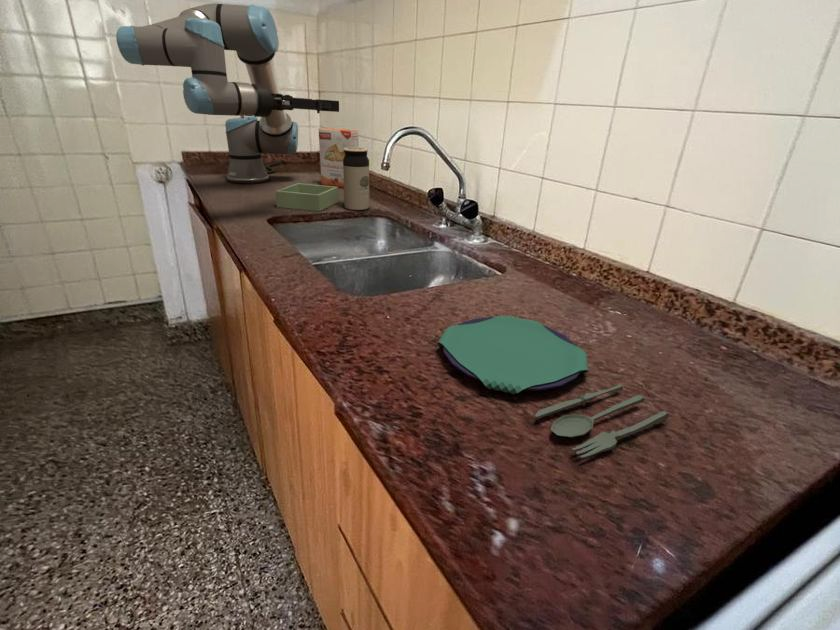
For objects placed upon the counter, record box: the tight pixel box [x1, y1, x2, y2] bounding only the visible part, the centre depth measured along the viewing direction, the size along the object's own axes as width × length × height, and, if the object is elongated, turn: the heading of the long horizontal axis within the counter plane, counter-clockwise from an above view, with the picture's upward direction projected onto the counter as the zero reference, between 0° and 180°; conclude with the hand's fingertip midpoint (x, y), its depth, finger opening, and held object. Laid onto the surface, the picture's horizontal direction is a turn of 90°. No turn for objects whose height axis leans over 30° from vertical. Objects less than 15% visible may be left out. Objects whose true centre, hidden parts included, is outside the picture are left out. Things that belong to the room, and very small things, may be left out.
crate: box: [274, 182, 340, 212], centre depth 145 cm, size 15×15×5 cm
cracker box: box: [318, 127, 360, 189], centre depth 171 cm, size 14×6×21 cm, turn 67°
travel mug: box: [343, 147, 370, 211], centre depth 141 cm, size 8×8×18 cm
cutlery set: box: [437, 315, 670, 460], centre depth 60 cm, size 20×30×2 cm, turn 28°
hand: (324, 105), depth 127 cm, fingers open, 13 cm apart
